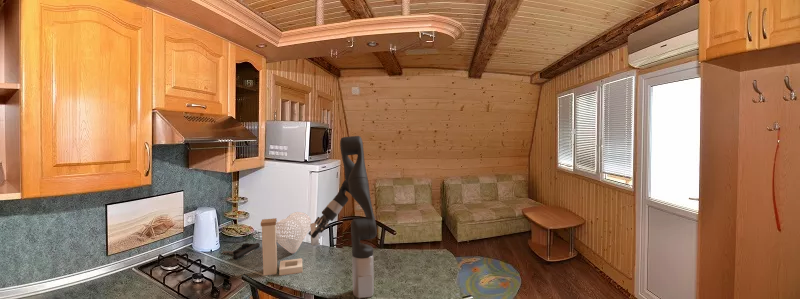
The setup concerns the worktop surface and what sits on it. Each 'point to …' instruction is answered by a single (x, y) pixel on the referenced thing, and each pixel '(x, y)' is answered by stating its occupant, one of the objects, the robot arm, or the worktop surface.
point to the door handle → (243, 250)
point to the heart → (290, 218)
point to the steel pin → (313, 227)
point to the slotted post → (275, 252)
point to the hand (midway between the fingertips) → (311, 236)
